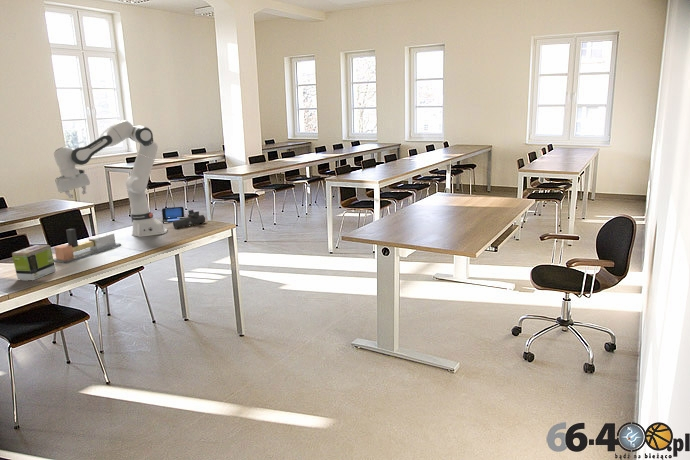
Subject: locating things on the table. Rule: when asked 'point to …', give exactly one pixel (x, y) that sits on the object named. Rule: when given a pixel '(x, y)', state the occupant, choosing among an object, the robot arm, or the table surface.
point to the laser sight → (189, 220)
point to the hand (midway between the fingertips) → (78, 195)
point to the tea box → (33, 262)
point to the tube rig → (101, 244)
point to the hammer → (73, 241)
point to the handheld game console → (172, 214)
